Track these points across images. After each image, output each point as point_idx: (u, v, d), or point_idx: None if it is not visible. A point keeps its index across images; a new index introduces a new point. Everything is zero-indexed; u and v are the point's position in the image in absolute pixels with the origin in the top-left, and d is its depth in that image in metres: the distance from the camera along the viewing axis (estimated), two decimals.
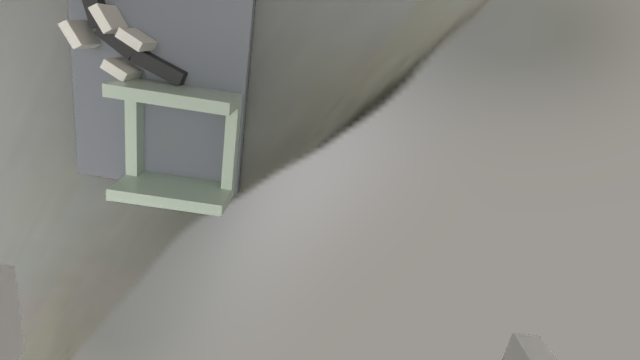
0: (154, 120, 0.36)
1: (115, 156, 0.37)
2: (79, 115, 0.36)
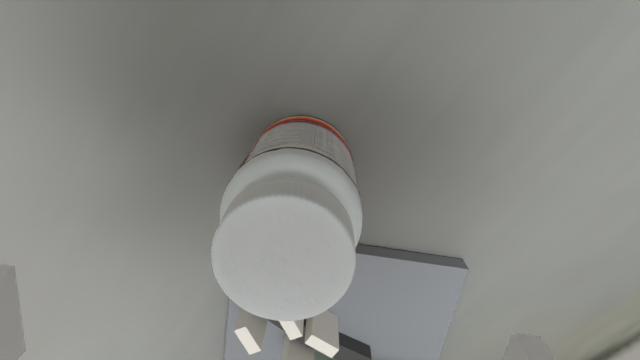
0: None
1: None
2: None
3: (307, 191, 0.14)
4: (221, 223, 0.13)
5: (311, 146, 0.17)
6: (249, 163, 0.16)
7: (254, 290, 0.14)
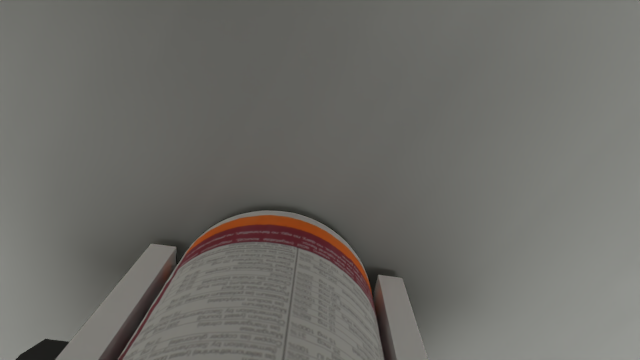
0: None
1: None
2: None
3: None
4: None
5: None
6: None
7: None
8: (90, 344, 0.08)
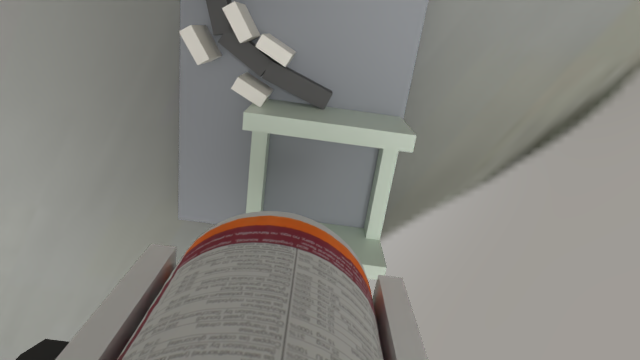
0: (282, 152, 0.28)
1: (227, 198, 0.29)
2: (185, 147, 0.28)
3: None
4: None
5: None
6: None
7: None
8: (90, 344, 0.08)
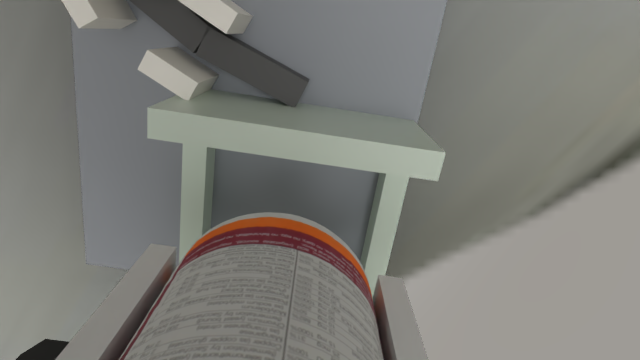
0: (234, 170, 0.18)
1: (156, 235, 0.20)
2: (89, 161, 0.18)
3: None
4: None
5: None
6: None
7: None
8: (90, 344, 0.08)
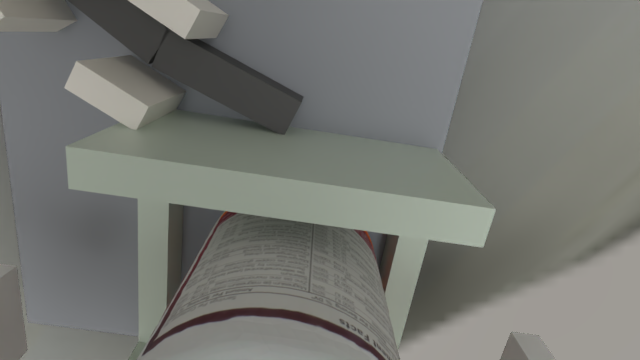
0: (209, 211, 0.15)
1: (113, 288, 0.16)
2: (25, 199, 0.15)
3: None
4: None
5: (304, 295, 0.08)
6: (158, 359, 0.07)
7: None
8: None
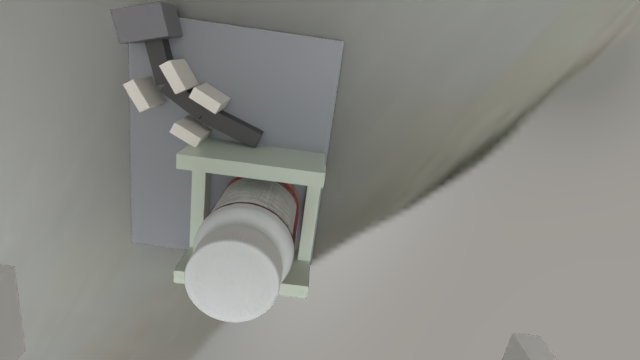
0: (222, 184, 0.31)
1: (175, 224, 0.32)
2: (136, 179, 0.31)
3: (246, 236, 0.21)
4: (190, 259, 0.21)
5: (256, 200, 0.25)
6: (212, 214, 0.23)
7: (214, 302, 0.22)
8: None
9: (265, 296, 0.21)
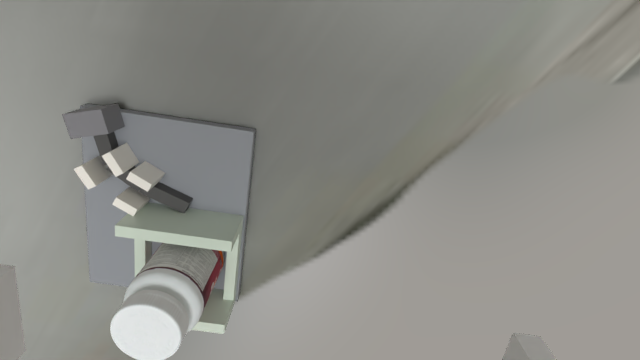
0: None
1: (125, 267, 0.40)
2: (91, 233, 0.38)
3: (155, 300, 0.28)
4: None
5: (174, 264, 0.32)
6: (137, 277, 0.31)
7: (133, 347, 0.29)
8: None
9: (171, 343, 0.29)
